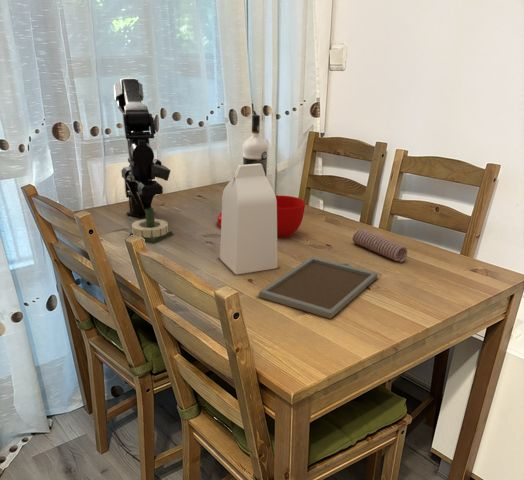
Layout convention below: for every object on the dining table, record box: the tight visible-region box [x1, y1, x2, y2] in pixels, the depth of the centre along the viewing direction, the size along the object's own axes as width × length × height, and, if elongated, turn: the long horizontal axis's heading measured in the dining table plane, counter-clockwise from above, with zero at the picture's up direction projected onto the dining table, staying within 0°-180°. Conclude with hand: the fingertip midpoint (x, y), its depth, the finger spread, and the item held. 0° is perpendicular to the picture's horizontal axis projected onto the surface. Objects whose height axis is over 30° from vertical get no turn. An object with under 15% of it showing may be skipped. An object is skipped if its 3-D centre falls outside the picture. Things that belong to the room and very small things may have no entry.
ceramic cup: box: [275, 195, 306, 238], centre depth 170 cm, size 13×17×10 cm
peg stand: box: [129, 207, 173, 244], centre depth 164 cm, size 9×9×8 cm
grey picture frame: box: [258, 256, 378, 320], centre depth 139 cm, size 19×2×30 cm
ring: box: [131, 218, 169, 238], centre depth 165 cm, size 10×10×2 cm
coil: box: [352, 228, 408, 263], centre depth 159 cm, size 5×5×18 cm
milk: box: [219, 164, 279, 275], centre depth 144 cm, size 12×12×26 cm
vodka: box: [242, 114, 269, 177], centre depth 185 cm, size 9×9×30 cm
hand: (143, 208), depth 167 cm, fingers open, 6 cm apart
